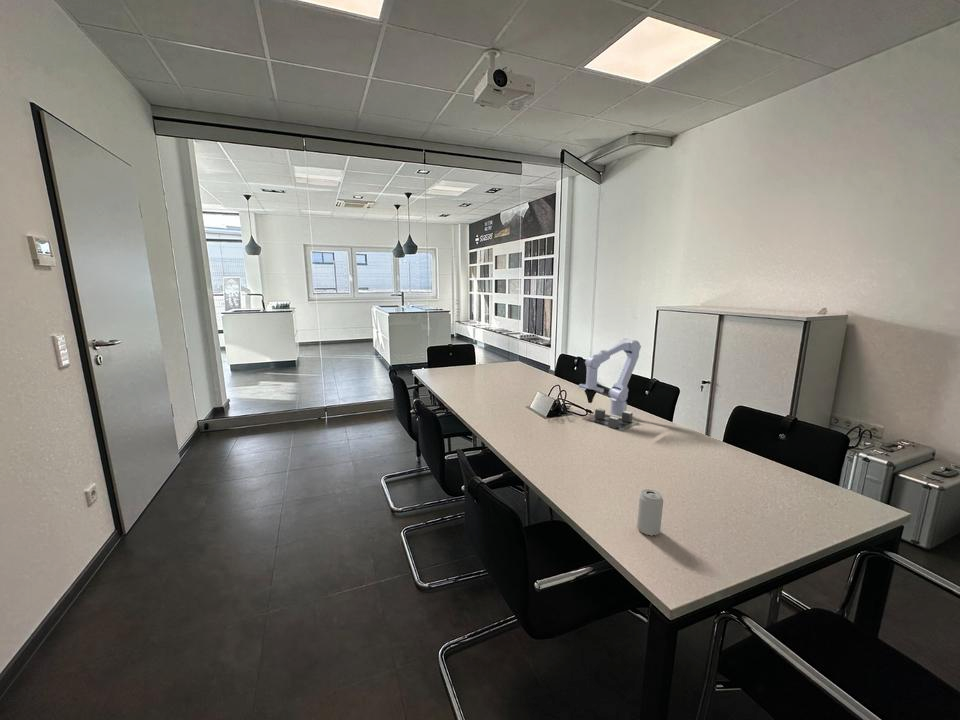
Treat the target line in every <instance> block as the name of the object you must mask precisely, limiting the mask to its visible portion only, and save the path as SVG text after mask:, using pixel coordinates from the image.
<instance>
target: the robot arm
mask: <svg viewBox="0 0 960 720" xmlns="http://www.w3.org/2000/svg"><path fill="white" fill-rule="evenodd" d="M641 348H642V346H641V343H640V341H638V340H635V339H629V338H622V340H619V341H618V342H617V343H616V344H615V345H613V346H611V347H610V348H609V349H607V350H606V349H600V351H599V352H597V353H596V354H593V355H592V356H588V357H587V358H586V359H585V361H584V364H585V367H586V377H585V380H586V381H585V383H580V384H578V388H579V389H584V393H585V396H586V397H587V403H589V404H592V403H593V402H594V398H595V396H596V395H597V393H598V392H599V393H601V394H602V393H604V392H605V388H602V387H599V386H597V385H598V383H597V382H598V370H599V367H601V364H603V363H605V362H607V361H608V360H610V358H611V356H613V355H615V354H616V353H619V352H621V351H623V352H624V353H625V355H626V360H625V362H624V364H623V368H622V369H621V372H620V375H619V377H618V379H617V382H615V383H613V384H612V387H610V388H609V391H608V396H609V397H610V410H609V414H610V415H616V416H620V417H622V412H623V411H627V407H628V403H627V400H628V397H629V391H630V390H629V387H628V385H629V381H630V379H631V376H632V374H633V371H634V369H635V367H636V364H637V362H638V359H639V357H640V351H641Z"/></svg>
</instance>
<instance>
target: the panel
mask: <svg viewBox="0 0 960 720" xmlns="http://www.w3.org/2000/svg"><path fill="white" fill-rule="evenodd" d="M611 416H613V415H612V414H610V415H609V414H606V413H605V418H604V419H598V418H595V413H593V414H592V415H589V416H586V417H584V418H582V419H581V420H583V421H586V422H590V423H592V424H593V423H594V424H596V425H600V426H604V427H607V428H610V429H615V430H618V431H622V432H624V431H627V430H629V429H631V428H633V427H635V426H637V425H639V424H640V422H637V421H633V420H632V421H630V422H626V421H622V417H618V416H613V417H617V418H620V419H619V427H617V428H613V427H609V426H608V422H609V417H611Z"/></svg>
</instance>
